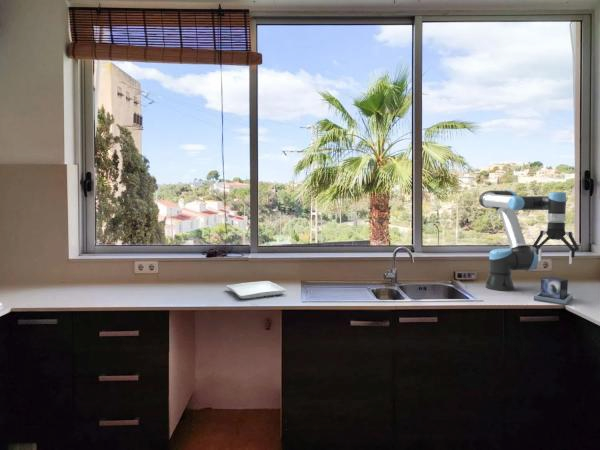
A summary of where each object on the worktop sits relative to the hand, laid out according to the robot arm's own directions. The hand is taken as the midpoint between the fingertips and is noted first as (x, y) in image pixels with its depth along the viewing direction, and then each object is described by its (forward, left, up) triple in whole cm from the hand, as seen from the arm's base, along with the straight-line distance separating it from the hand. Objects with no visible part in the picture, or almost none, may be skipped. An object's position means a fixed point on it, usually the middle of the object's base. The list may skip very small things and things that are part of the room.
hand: (554, 262), depth 199 cm
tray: (0, 0, -20) cm, 20 cm away
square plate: (-126, -99, -20) cm, 162 cm away
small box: (0, 0, -19) cm, 19 cm away
